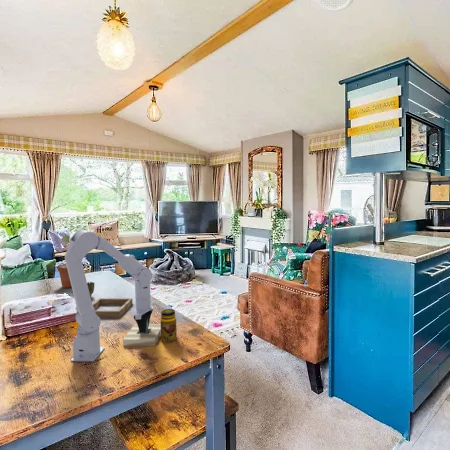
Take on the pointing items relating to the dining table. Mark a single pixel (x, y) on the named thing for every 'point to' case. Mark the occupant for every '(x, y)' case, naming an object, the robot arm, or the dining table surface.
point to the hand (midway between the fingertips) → (144, 330)
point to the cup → (91, 287)
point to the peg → (146, 329)
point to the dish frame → (112, 301)
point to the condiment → (168, 326)
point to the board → (142, 336)
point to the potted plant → (64, 269)
